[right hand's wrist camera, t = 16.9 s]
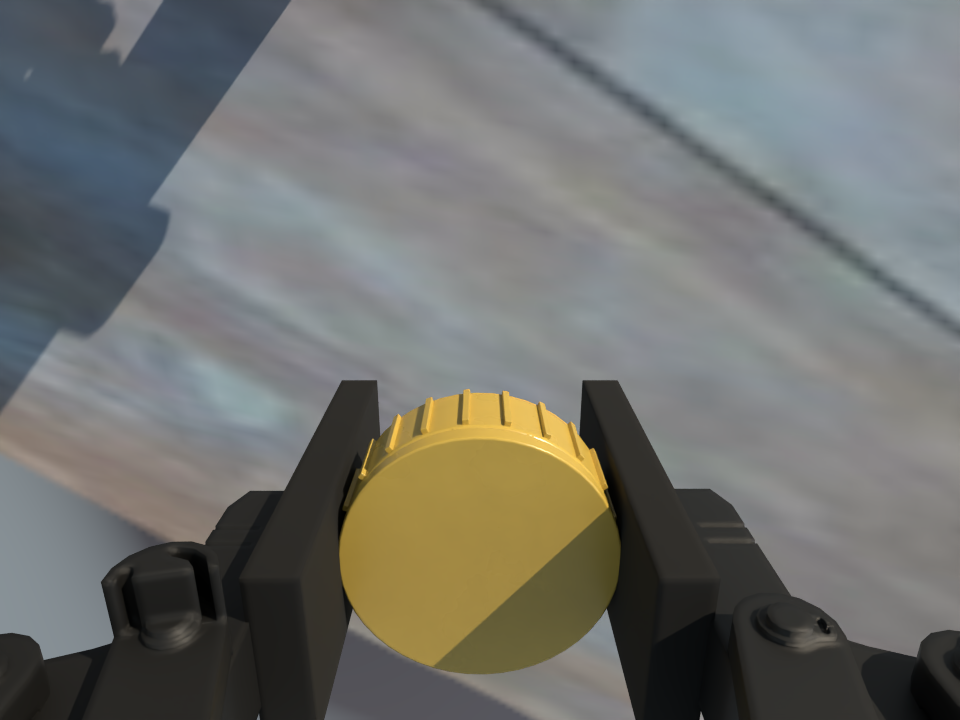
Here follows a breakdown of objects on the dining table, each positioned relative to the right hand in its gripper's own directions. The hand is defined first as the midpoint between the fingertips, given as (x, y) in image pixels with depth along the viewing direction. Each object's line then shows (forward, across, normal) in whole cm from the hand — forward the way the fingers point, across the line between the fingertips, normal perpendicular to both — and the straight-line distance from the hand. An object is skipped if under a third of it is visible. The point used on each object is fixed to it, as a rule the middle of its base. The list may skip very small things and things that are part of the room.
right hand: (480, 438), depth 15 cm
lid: (-4, 0, 0) cm, 4 cm away
